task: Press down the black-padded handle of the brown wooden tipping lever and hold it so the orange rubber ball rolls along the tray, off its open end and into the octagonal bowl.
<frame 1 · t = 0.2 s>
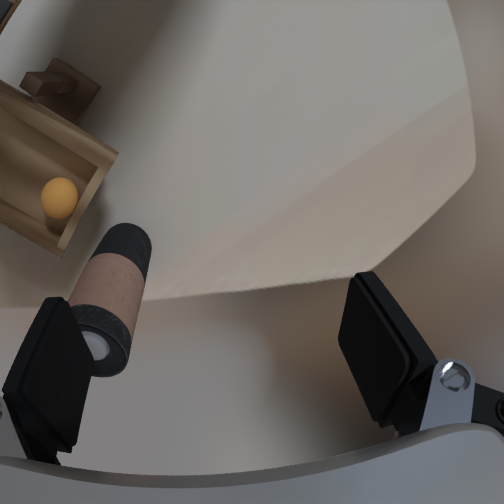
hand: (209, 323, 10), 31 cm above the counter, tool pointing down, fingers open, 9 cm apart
ball: (59, 197, 26), point 11 cm above the counter, tilted 14°, touching lever tray
travel mug: (127, 245, 42), on the counter
pivot stand: (43, 131, 32), on the counter
lever tray: (18, 114, 22), point 10 cm above the counter, hinge at -8.1°, touching ball
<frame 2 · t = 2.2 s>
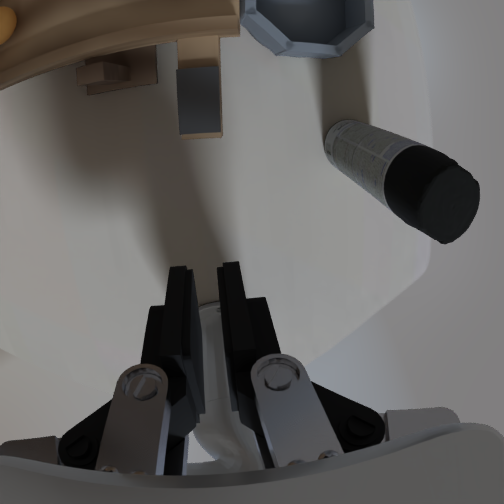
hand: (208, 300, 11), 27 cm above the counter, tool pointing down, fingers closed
octagonal bowl: (296, 6, 27), on the counter
pivot stand: (120, 16, 25), on the counter
spray can: (346, 144, 36), on the counter
lever tray: (92, 35, 18), point 10 cm above the counter, hinge at -8.1°, touching ball
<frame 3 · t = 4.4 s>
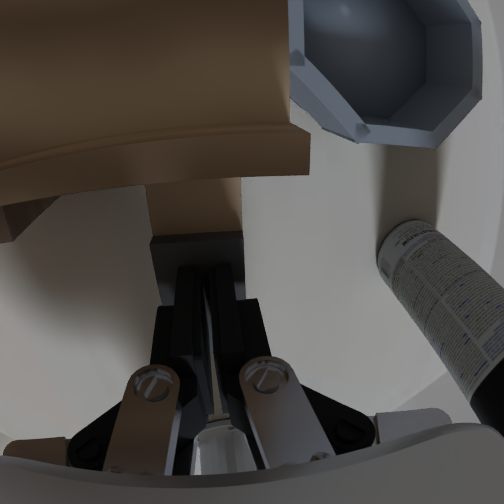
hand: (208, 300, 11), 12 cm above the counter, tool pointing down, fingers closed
octagonal bowl: (355, 40, 17), on the counter
pivot stand: (63, 58, 15), on the counter
spray can: (404, 250, 26), on the counter
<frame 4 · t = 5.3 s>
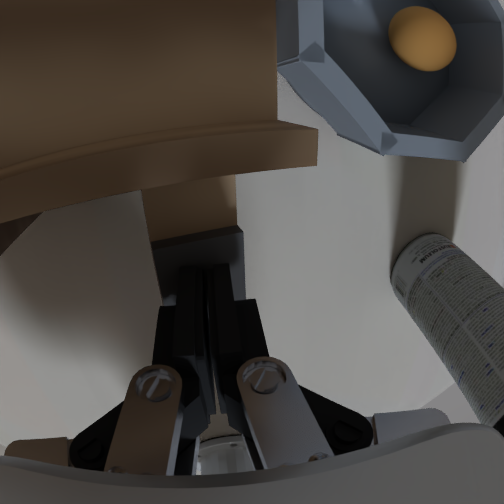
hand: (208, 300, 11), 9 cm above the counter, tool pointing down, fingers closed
ball: (422, 38, 12), point 3 cm above the counter, tilted 152°, touching octagonal bowl
octagonal bowl: (373, 36, 15), on the counter
pivot stand: (45, 56, 12), on the counter
spray can: (419, 265, 24), on the counter
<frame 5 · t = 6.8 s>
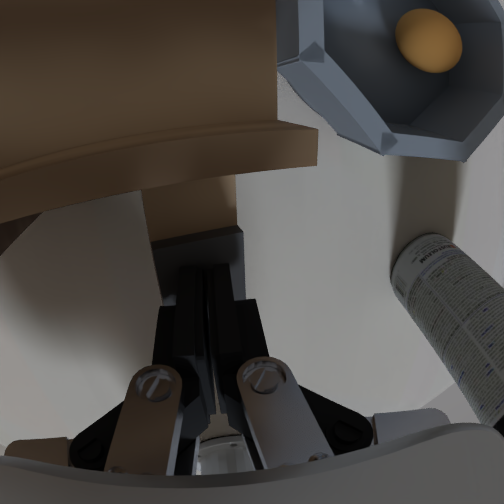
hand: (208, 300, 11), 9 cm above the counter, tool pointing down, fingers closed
ball: (429, 40, 12), point 3 cm above the counter, tilted 165°, touching octagonal bowl
octagonal bowl: (373, 36, 15), on the counter
pivot stand: (45, 56, 12), on the counter
spray can: (419, 265, 24), on the counter
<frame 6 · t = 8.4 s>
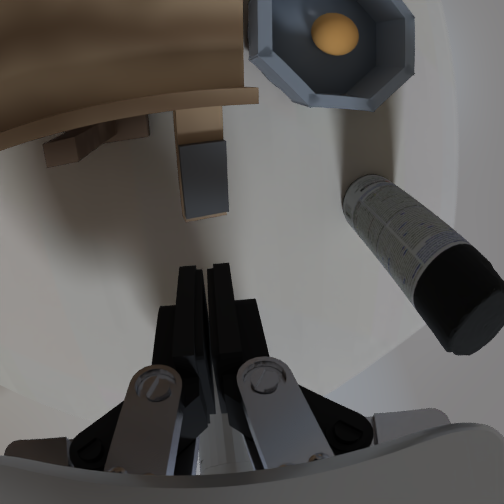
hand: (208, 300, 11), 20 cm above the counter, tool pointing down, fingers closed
ball: (335, 33, 21), point 3 cm above the counter, tilted 148°, touching octagonal bowl
octagonal bowl: (318, 36, 23), on the counter
pivot stand: (101, 49, 21), on the counter
spray can: (366, 200, 33), on the counter
lever tray: (57, 98, 15), point 10 cm above the counter, hinge at 14.1°
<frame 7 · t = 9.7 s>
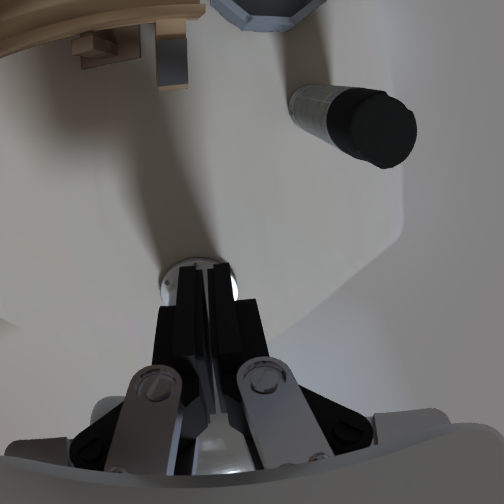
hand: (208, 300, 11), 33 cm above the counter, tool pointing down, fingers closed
pivot stand: (111, 3, 27), on the counter
spray can: (310, 107, 39), on the counter
lever tray: (84, 16, 21), point 10 cm above the counter, hinge at 14.1°
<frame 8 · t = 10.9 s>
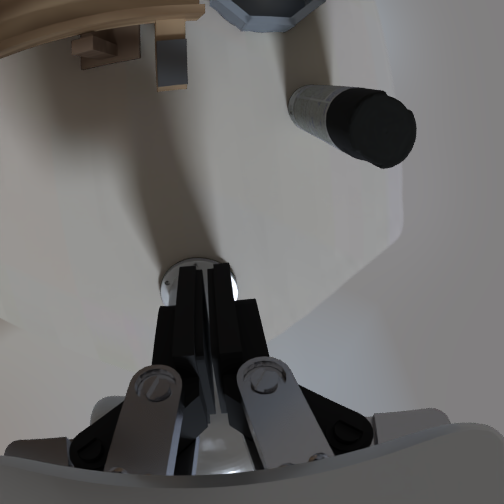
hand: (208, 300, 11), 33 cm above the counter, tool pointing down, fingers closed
pivot stand: (110, 4, 27), on the counter
spray can: (309, 107, 39), on the counter
lever tray: (84, 16, 21), point 10 cm above the counter, hinge at 14.1°
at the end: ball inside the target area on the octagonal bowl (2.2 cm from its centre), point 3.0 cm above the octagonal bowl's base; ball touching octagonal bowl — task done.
